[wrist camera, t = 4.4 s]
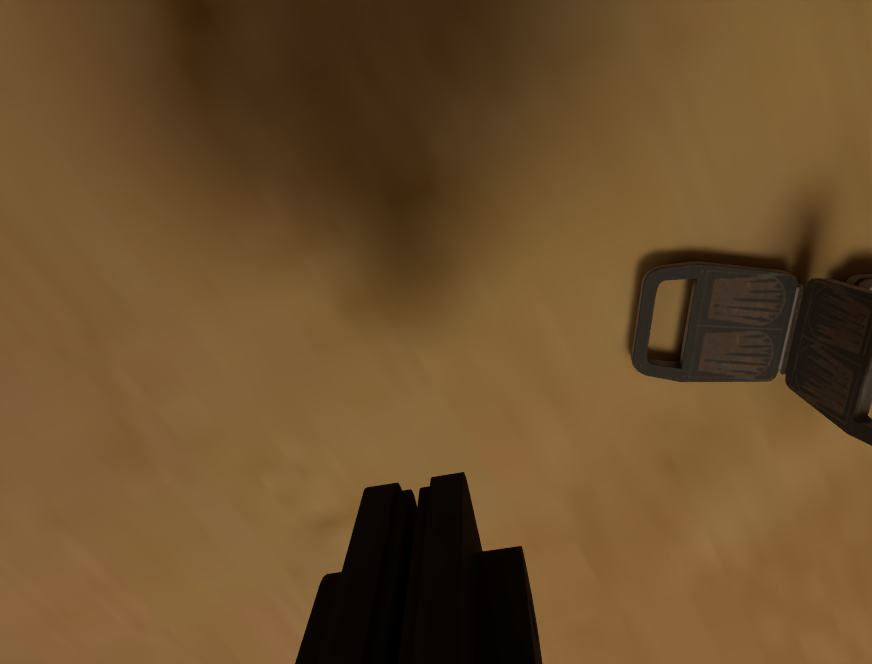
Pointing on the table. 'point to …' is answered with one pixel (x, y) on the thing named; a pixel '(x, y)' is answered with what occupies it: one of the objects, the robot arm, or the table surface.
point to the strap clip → (771, 335)
